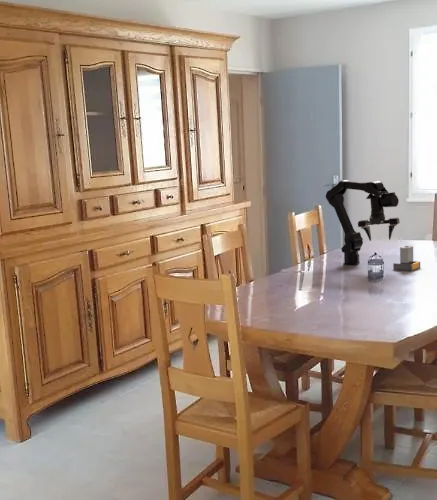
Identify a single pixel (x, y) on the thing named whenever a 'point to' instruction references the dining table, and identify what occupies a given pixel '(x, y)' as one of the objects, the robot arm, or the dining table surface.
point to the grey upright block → (406, 255)
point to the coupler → (406, 266)
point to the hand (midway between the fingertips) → (380, 240)
